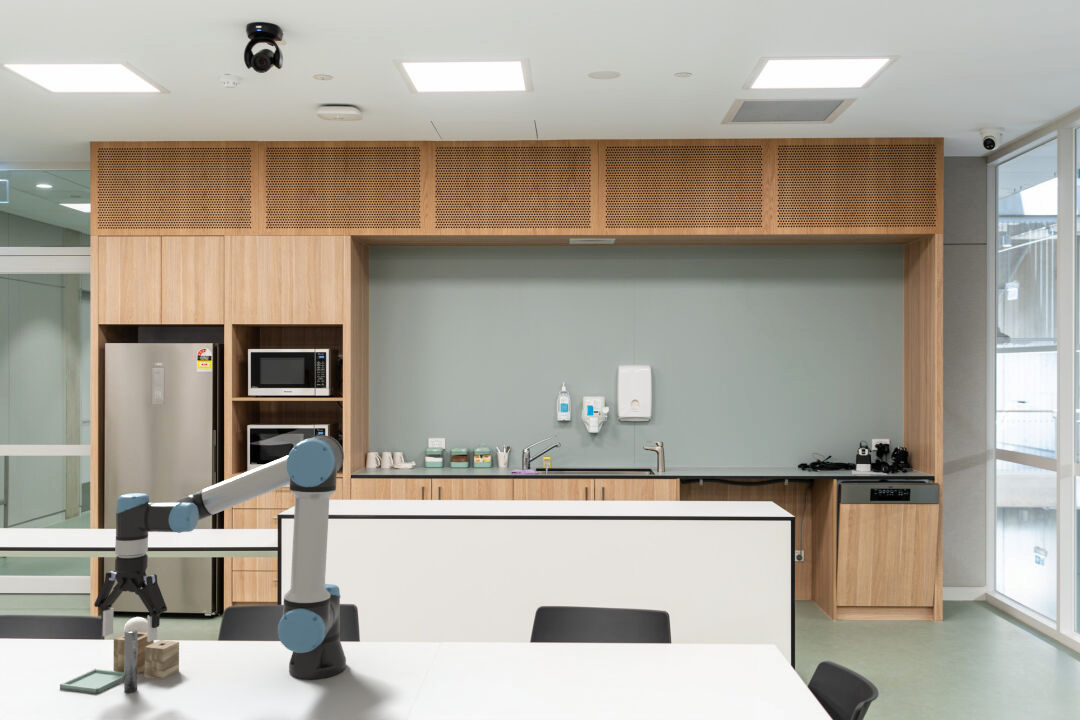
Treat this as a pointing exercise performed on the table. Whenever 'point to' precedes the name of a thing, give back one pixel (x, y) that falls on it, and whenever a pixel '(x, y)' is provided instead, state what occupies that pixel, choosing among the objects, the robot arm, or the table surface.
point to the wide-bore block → (120, 652)
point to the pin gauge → (130, 661)
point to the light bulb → (136, 625)
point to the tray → (94, 681)
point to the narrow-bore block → (161, 659)
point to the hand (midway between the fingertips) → (129, 637)
